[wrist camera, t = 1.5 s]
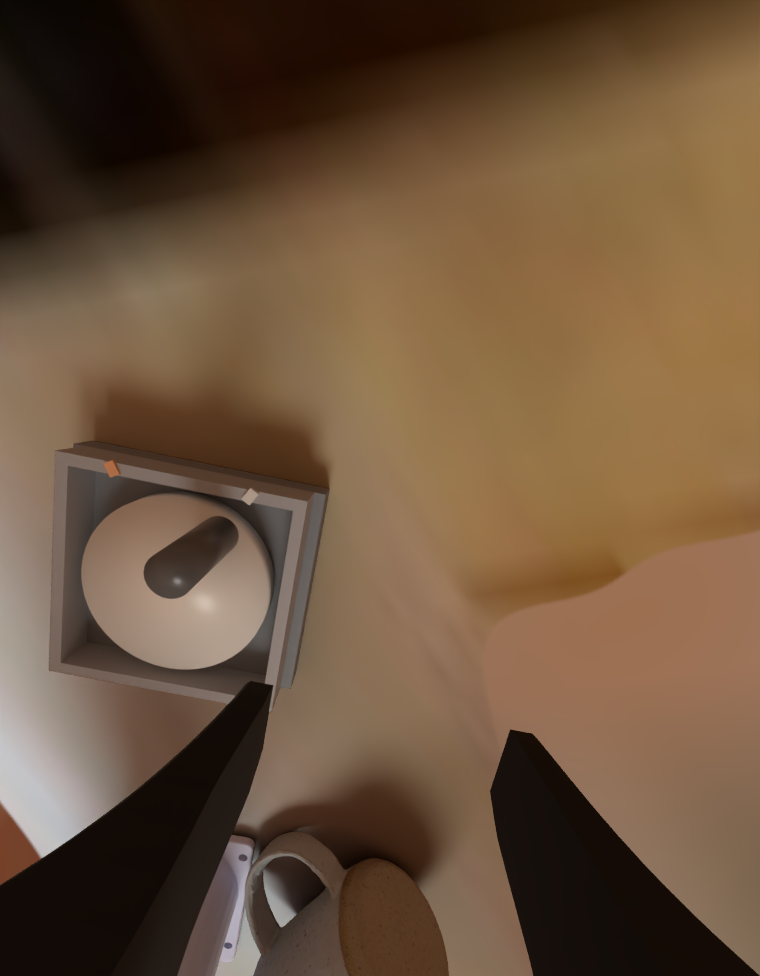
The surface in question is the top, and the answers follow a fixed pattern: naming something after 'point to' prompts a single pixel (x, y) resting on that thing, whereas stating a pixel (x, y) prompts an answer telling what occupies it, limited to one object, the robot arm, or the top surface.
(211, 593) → the dial
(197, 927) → the robot arm
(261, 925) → the ceramic mug
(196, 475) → the dial plate
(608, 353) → the top surface
